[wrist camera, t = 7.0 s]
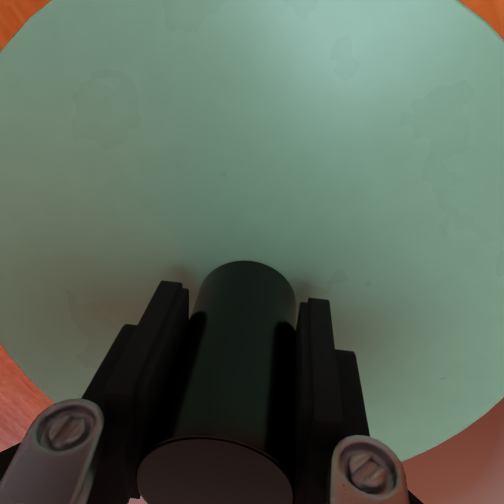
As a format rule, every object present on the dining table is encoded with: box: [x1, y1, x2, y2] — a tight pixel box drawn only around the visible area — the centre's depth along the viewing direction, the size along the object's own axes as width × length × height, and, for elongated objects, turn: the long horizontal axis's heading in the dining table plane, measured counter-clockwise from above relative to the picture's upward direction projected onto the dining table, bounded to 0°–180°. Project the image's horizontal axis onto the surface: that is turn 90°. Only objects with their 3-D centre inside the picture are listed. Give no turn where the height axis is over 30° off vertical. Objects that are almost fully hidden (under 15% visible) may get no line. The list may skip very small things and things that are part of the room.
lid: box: [0, 0, 504, 504], centre depth 11 cm, size 18×18×7 cm
